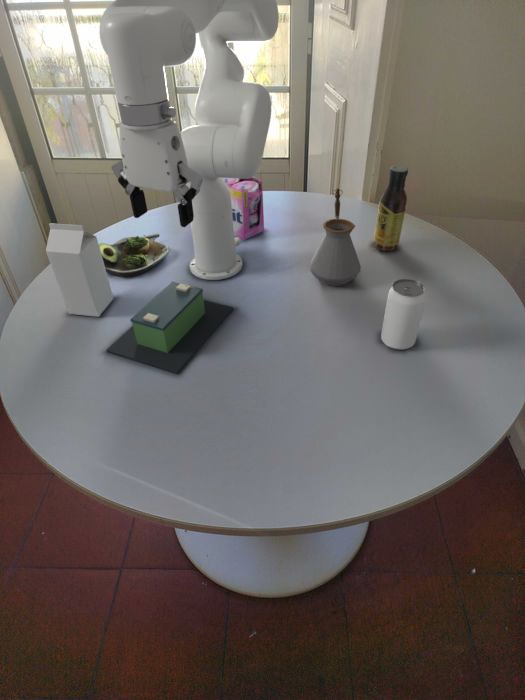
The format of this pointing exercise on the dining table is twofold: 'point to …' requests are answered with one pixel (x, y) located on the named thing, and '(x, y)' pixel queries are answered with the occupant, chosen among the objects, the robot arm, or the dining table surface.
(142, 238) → the salad plate
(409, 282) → the can
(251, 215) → the gum box
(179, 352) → the placemat
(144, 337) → the box
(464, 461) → the dining table surface
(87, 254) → the milk carton
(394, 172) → the sauce bottle
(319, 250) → the coffee pot
